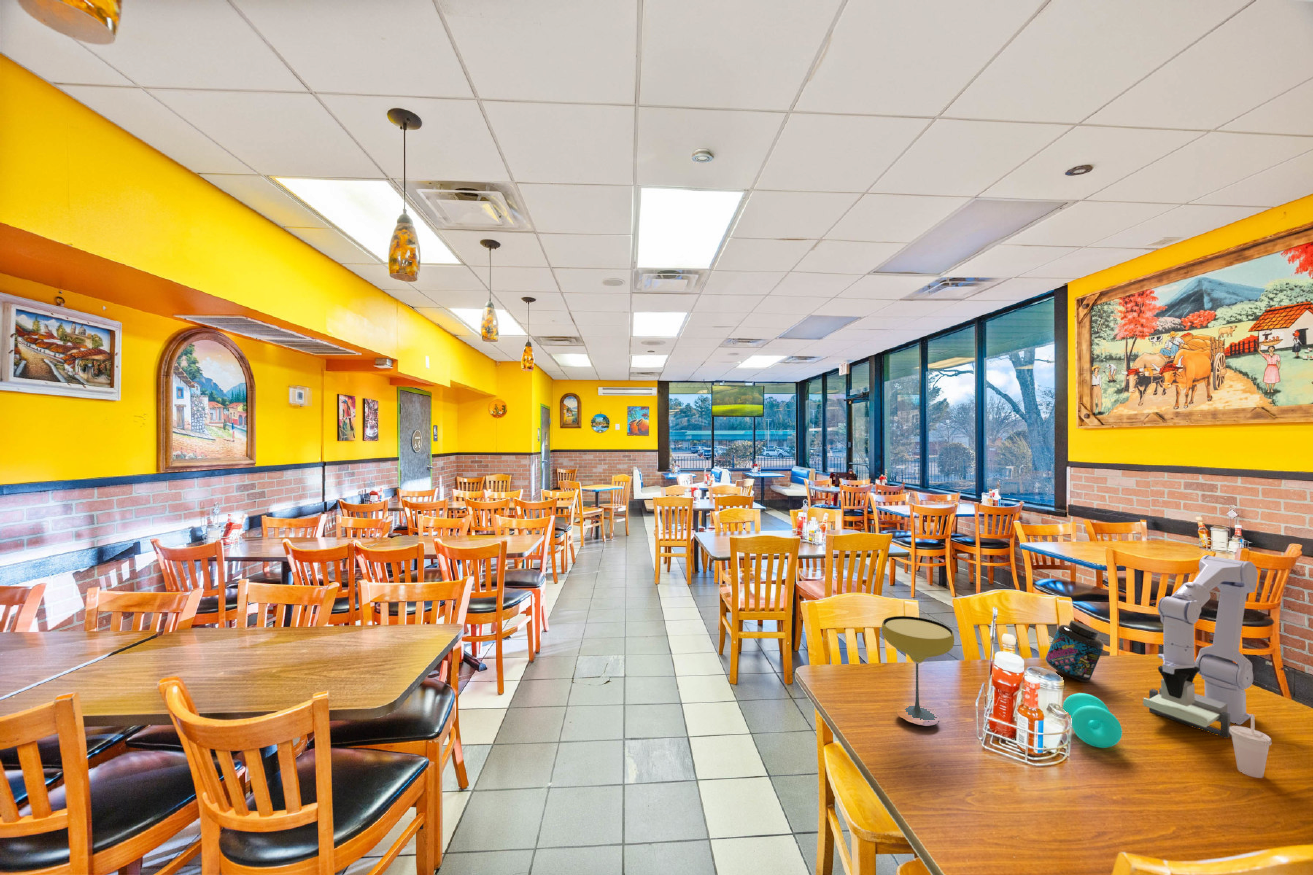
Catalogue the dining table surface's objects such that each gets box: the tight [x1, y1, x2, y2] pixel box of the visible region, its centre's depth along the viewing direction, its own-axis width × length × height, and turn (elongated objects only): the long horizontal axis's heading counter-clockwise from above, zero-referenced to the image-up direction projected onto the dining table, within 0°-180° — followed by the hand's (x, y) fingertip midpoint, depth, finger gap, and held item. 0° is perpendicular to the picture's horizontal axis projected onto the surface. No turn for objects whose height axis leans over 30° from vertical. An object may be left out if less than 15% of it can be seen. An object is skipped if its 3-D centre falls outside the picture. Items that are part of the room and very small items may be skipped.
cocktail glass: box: [881, 615, 955, 722], centre depth 141 cm, size 18×18×25 cm
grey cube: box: [1160, 678, 1196, 706], centre depth 135 cm, size 5×5×5 cm
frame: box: [1148, 688, 1232, 739], centre depth 137 cm, size 2×15×6 cm, turn 28°
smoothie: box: [1229, 713, 1273, 779], centre depth 116 cm, size 6×6×14 cm
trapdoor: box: [1142, 687, 1228, 727], centre depth 136 cm, size 16×12×4 cm
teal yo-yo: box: [1062, 692, 1123, 749], centre depth 130 cm, size 10×10×10 cm
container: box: [1045, 620, 1104, 682], centre depth 164 cm, size 12×12×17 cm
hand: (1179, 694), depth 135 cm, fingers closed on grey cube, 5 cm apart
